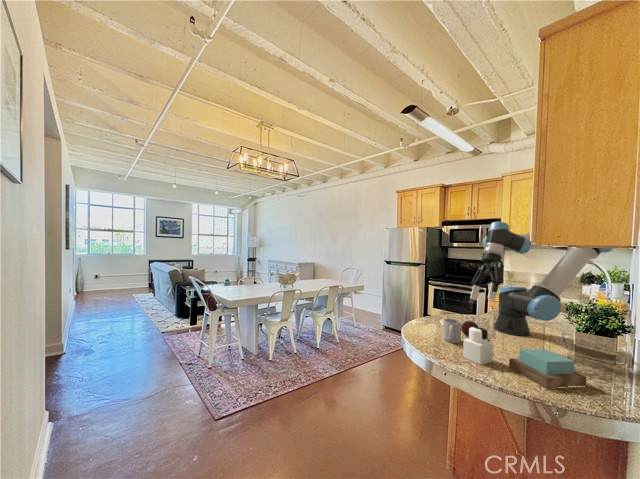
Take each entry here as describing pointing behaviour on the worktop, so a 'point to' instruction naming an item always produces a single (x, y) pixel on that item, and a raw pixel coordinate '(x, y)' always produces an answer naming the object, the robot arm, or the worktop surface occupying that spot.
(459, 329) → the cup
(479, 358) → the medicine bottle
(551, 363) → the tower top block
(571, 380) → the tower base slab
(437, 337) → the worktop surface
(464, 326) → the dark red textured ball
